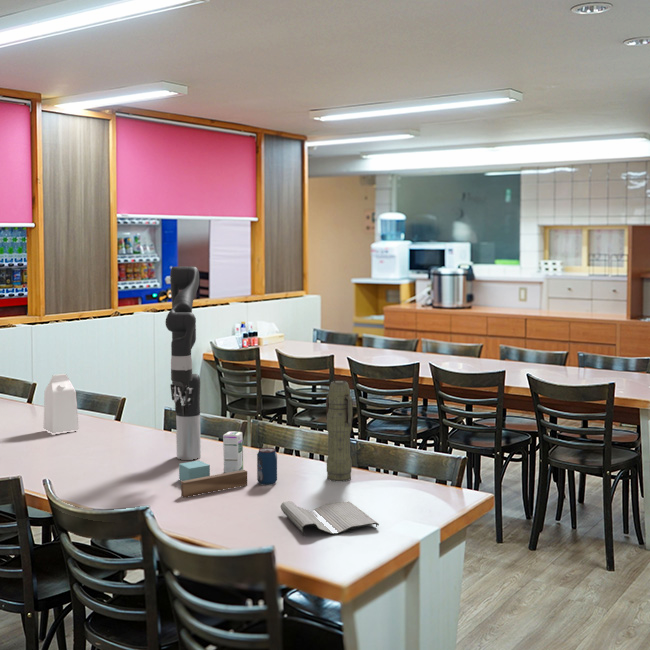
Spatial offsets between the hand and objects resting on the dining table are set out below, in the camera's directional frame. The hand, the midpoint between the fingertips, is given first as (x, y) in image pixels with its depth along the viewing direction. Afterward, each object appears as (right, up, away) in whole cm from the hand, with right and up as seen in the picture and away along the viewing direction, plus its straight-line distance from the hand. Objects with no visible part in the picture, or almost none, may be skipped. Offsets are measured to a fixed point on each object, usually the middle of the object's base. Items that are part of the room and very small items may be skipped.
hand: (182, 414), depth 284 cm
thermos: (+57, -23, -2) cm, 61 cm away
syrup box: (+18, -22, +6) cm, 29 cm away
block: (+5, -23, -5) cm, 24 cm away
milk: (-68, -16, +73) cm, 101 cm away
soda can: (+31, -23, -8) cm, 40 cm away
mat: (+53, -27, -48) cm, 77 cm away
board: (+14, -24, -17) cm, 33 cm away
